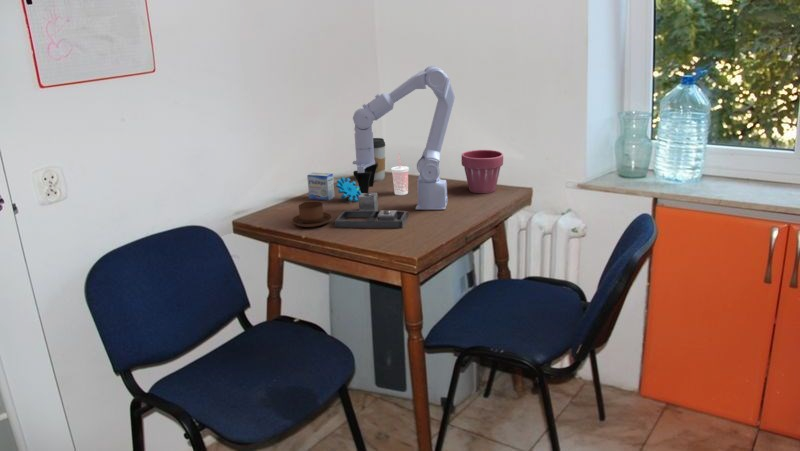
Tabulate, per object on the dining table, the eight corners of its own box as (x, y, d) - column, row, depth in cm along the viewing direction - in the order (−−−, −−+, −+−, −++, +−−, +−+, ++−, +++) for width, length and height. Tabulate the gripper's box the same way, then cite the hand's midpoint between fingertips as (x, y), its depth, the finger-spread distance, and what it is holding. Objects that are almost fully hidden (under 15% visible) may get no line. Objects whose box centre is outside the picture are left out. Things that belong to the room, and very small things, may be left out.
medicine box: (308, 199, 234) (306, 175, 232) (315, 195, 238) (312, 171, 235) (329, 200, 231) (326, 176, 229) (335, 197, 235) (332, 172, 233)
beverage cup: (410, 195, 233) (408, 155, 228) (392, 195, 233) (390, 156, 228) (410, 190, 238) (408, 151, 234) (392, 191, 239) (390, 152, 234)
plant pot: (511, 188, 234) (511, 152, 230) (485, 197, 225) (484, 160, 221) (480, 182, 244) (480, 147, 240) (453, 190, 235) (452, 154, 231)
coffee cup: (363, 181, 253) (360, 142, 249) (368, 176, 261) (365, 137, 256) (385, 181, 252) (382, 141, 247) (389, 176, 260) (387, 137, 255)
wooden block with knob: (397, 219, 207) (396, 208, 206) (394, 224, 202) (393, 213, 201) (381, 219, 208) (380, 208, 207) (378, 224, 203) (377, 213, 202)
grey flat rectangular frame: (407, 217, 209) (407, 210, 208) (402, 228, 199) (401, 221, 198) (343, 216, 213) (343, 210, 212) (335, 227, 203) (334, 221, 202)
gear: (347, 201, 224) (333, 177, 227) (338, 211, 227) (324, 188, 230) (370, 197, 232) (355, 174, 235) (361, 207, 235) (347, 185, 238)
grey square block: (378, 209, 219) (376, 191, 217) (374, 213, 214) (373, 196, 213) (363, 208, 220) (361, 191, 218) (359, 213, 215) (358, 196, 214)
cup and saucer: (285, 225, 208) (282, 206, 206) (315, 215, 216) (314, 197, 214) (308, 232, 200) (306, 213, 198) (339, 222, 208) (338, 203, 206)
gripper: (357, 143, 218) (360, 183, 222) (346, 152, 205) (349, 195, 209) (378, 142, 217) (381, 183, 221) (369, 152, 203) (371, 195, 208)
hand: (367, 189), depth 215 cm, fingers open, 7 cm apart
